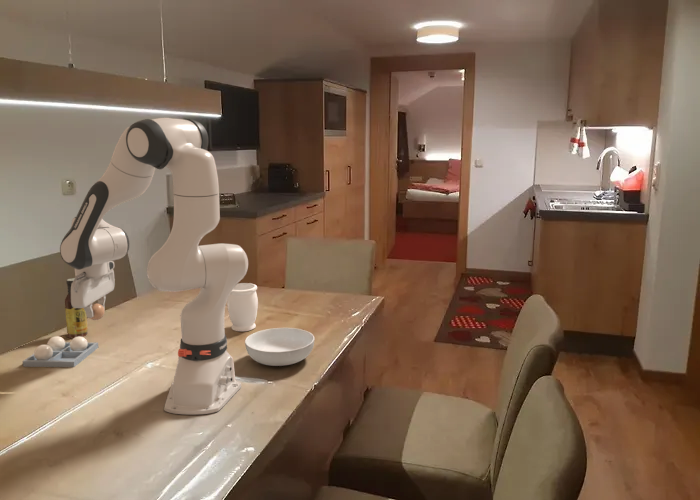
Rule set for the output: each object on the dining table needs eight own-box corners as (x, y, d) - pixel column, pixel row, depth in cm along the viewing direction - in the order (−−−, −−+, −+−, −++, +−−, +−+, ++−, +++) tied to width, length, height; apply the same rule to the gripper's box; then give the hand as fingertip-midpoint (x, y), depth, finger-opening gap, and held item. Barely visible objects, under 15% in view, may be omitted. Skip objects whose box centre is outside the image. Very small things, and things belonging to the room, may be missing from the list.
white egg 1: (48, 364, 168) (46, 348, 167) (31, 364, 168) (29, 348, 167) (57, 357, 173) (55, 342, 172) (41, 357, 173) (39, 342, 172)
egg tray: (74, 368, 166) (73, 361, 166) (23, 368, 167) (22, 361, 166) (98, 349, 181) (98, 342, 180) (51, 348, 181) (51, 342, 181)
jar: (242, 335, 193) (240, 292, 190) (222, 328, 199) (220, 287, 196) (265, 326, 201) (263, 285, 198) (244, 320, 207) (243, 281, 204)
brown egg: (100, 322, 167) (99, 306, 166) (83, 322, 168) (82, 305, 167) (108, 317, 172) (106, 301, 171) (92, 317, 173) (90, 301, 172)
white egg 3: (83, 355, 174) (82, 339, 173) (67, 355, 175) (65, 339, 174) (91, 349, 179) (89, 334, 178) (75, 348, 179) (74, 333, 178)
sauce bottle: (80, 340, 188) (74, 282, 184) (63, 339, 189) (57, 281, 185) (92, 333, 194) (87, 277, 190) (76, 332, 196) (70, 276, 192)
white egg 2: (60, 355, 175) (59, 339, 174) (44, 354, 175) (43, 339, 174) (69, 348, 180) (67, 333, 178) (53, 348, 180) (51, 333, 179)
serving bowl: (323, 350, 179) (323, 330, 178) (300, 378, 160) (300, 355, 158) (263, 344, 185) (262, 324, 184) (233, 370, 165) (232, 347, 164)
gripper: (84, 277, 157) (89, 325, 159) (116, 261, 177) (120, 303, 179) (62, 277, 157) (67, 325, 160) (96, 261, 177) (101, 303, 180)
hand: (95, 313), depth 170 cm, fingers closed on brown egg, 5 cm apart
